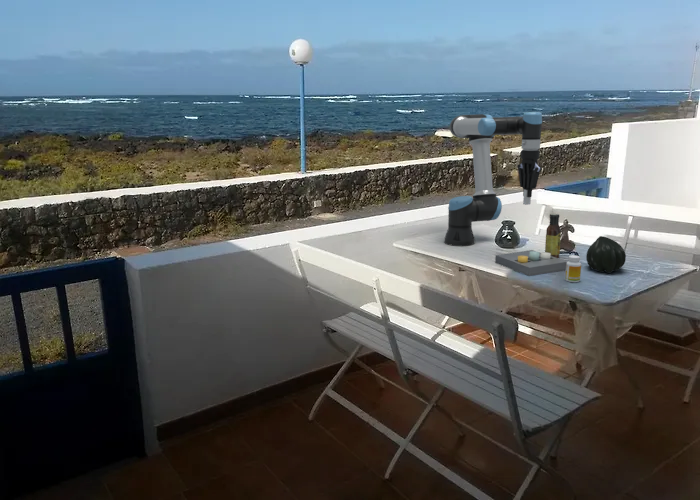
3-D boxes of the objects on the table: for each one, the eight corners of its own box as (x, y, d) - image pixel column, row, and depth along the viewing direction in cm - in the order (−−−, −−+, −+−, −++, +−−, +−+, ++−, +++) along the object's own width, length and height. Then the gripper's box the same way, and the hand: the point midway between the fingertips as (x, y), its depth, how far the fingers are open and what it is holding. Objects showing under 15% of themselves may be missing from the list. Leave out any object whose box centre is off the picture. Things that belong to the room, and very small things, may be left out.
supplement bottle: (583, 281, 205) (585, 257, 202) (571, 283, 203) (573, 259, 201) (573, 277, 210) (575, 254, 207) (562, 279, 208) (563, 255, 205)
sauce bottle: (560, 259, 236) (563, 215, 231) (545, 259, 237) (548, 215, 232) (557, 255, 242) (561, 213, 237) (543, 255, 243) (546, 212, 238)
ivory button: (538, 261, 228) (538, 252, 227) (545, 260, 229) (546, 251, 228) (544, 264, 224) (545, 254, 223) (552, 262, 226) (552, 253, 225)
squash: (639, 260, 212) (619, 228, 218) (615, 267, 206) (595, 234, 211) (614, 275, 224) (595, 245, 229) (590, 282, 217) (571, 251, 223)
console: (495, 262, 233) (495, 255, 232) (531, 257, 240) (532, 249, 239) (529, 275, 213) (529, 267, 212) (567, 269, 220) (568, 261, 219)
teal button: (527, 260, 225) (527, 251, 224) (534, 259, 227) (535, 250, 226) (533, 263, 222) (534, 253, 221) (541, 261, 223) (541, 252, 222)
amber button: (515, 265, 223) (515, 256, 222) (523, 264, 225) (523, 255, 224) (521, 267, 220) (522, 258, 219) (529, 266, 221) (530, 257, 220)
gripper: (513, 148, 229) (510, 202, 235) (533, 151, 217) (529, 207, 223) (527, 148, 231) (523, 201, 238) (548, 150, 220) (543, 205, 226)
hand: (526, 204), depth 230 cm, fingers closed
